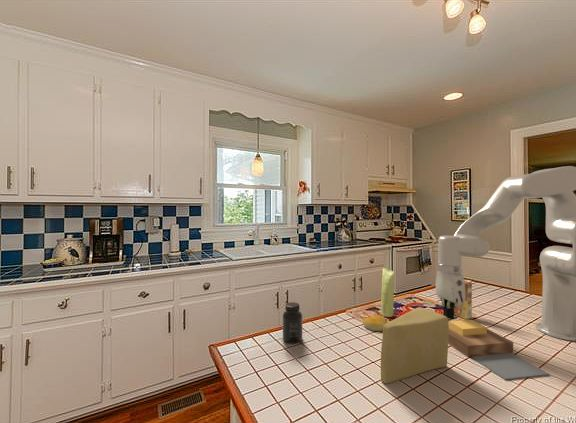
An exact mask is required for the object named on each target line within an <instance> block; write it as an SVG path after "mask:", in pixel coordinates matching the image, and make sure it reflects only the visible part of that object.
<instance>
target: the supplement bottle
mask: <svg viewBox="0 0 576 423" xmlns="http://www.w3.org/2000/svg"><path fill="white" fill-rule="evenodd" d="M284 309H285V311H284V312H283V313H282V339H283V341H284V342H285V343H288V344H297V343H300V342H301V341H302V340H303V313H302V312H301V311H300V310H301V309H300V304H299V303H298V302H296V301H295V302H294V301H292V302H291V301H290V302H287V303H285V308H284Z"/></svg>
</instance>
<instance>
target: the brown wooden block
mask: <svg viewBox="0 0 576 423" xmlns="http://www.w3.org/2000/svg"><path fill="white" fill-rule="evenodd" d="M448 346H451V347H452V348H454V349H455V350H456V351H458V352H459V353H461V354H463V356H465V357H466V358H472V356H482V355H493V354H504V353H513V354H514V342H513V341H512V340H510V339H508V338H506V337H504V336H502V335H501V334H498V333H497V332H495V331H492V330H491V329H489V328H487V334H478V335H466V336H462V335H461V334H459V333H457V332H456V331H454V330H452V329H451V328H449V324H448Z"/></svg>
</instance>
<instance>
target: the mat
mask: <svg viewBox="0 0 576 423" xmlns="http://www.w3.org/2000/svg"><path fill="white" fill-rule="evenodd" d="M471 358H472V359H473V360H474V361H476V362H477V363H479V364H480V365H481V366H483V367H484V368H486V369H488V370H489V371H491V372H492V373H494V374H495V375H496V376H498V377H500V378H501V379H503V380H504V381H508V380H510V381H511V380H517V379H527V378H528V379H529V378H538V377H543V376H544V377H547V376H550V373H549V372H547V371H545V370H543V369H542V368H540V367H538V366H536V365H534V364H532V363H531V362H528V360H525V359H524V358H521V357H520V356H519V355H516V354H514V352H513V353H504V354H493V355H482V356H472V357H471Z"/></svg>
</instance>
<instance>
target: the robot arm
mask: <svg viewBox="0 0 576 423" xmlns="http://www.w3.org/2000/svg"><path fill="white" fill-rule="evenodd" d="M574 191H576V166H573V165H567V166H559V167H554V168H544V169H540V170H536V171H533V172H531V173H526V174H519V175H514V176H513V175H512V176H509V177H507V178H504V180H503V181H502V182H501V183H500V184H499V185H498V186H497V188H496V189H495V191H494V192H493V194H492V195H491V197H489V198H488V201H486V202H485V204H484V205H483V207H482V208H481V209H479V210H478V211H476V212H475V213H473V215H472V216H470V217H469V218H468V219H466V220H465V221H464V222H463V223H462V224H461V225H460V226H459V227H458V229H457V230H456V232H455V233H454V234H453V235H440V236H439V237H438V244H437V246H438V247H437V272H436V278H435V295H437V296H436V297H437V298H438V299H440V301H441V305H442V307H443V312H442V313H443V314H442V315H444V316H446V317H447V318H448V320H450V319H452V320H453V319H454V318H455V315H454V308H456V307H461V306H462V305H461V302H465V284H464V279H465V278H464V275H463V274H462V272H463V270H462V263H463V262H462V261H463V260H462V258H463V256H465V257H471V258H481V257H484V256H486V255H488V254H489V252H490V243H489V242H488V241H487V240H486V239H485V238H483V237H481V236H479V235H480V234H481V233H483V232H484V231H486V230H487V229H489V228H492V227H494V226H498V225H500V224H502V223H505V222H506V221H508V220H509V219H510V218H511V216H512V215H513V214H514V212H515V211H516V210H517V209H518V207H519V206H520V204H521V203H522V201H523V200H527V199H528V200H529V199H530V200H531V199H533V200H535V199H540V198H542V199H543V201H544V204H545V234H546V237H547V238H548V239H549V240H550V241H553V242H556V243H562V244H569V245H572V247H569V246H563V245H552V246H547V247H545V248H543V249H542V251H541V252H540V255H539V263H540V268H541V274H542V295H541V297H542V298H541V300H542V301H541V322H538V323H536V324H535V328H536V329H537V330H538V331H539V332H541V333H542V334H546V335H548V336H550V337H552V338H553V337H554V338H556V339H560V340H566V341H570V342H572V341H573V342H576V194H575V193H574ZM452 302H453V303H452Z"/></svg>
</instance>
